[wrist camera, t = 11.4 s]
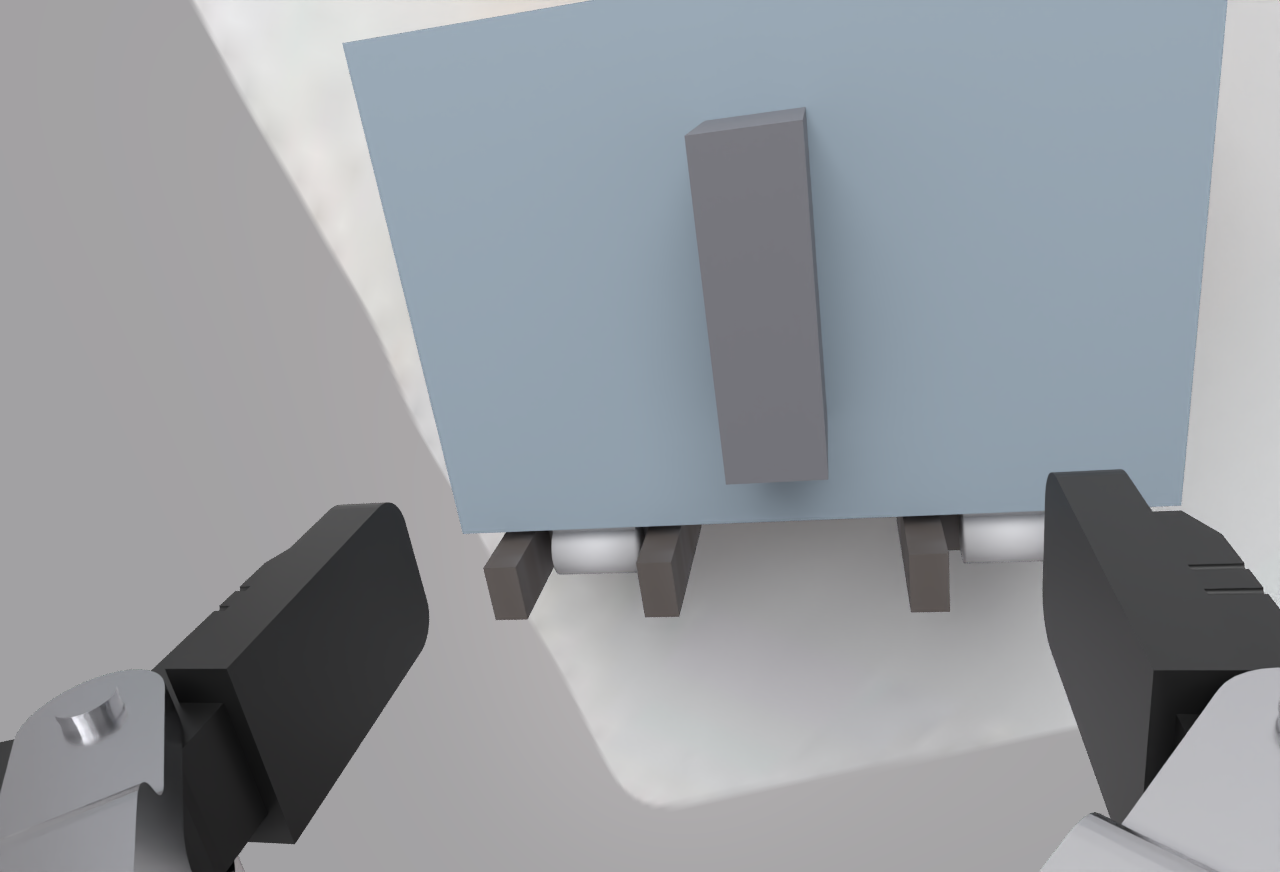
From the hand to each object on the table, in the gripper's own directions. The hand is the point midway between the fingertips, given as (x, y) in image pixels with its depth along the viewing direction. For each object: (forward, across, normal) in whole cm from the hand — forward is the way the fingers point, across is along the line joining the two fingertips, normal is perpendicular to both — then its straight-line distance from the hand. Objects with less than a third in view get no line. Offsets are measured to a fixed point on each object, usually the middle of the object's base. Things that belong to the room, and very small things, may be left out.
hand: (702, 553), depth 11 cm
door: (+15, 0, 0) cm, 15 cm away
